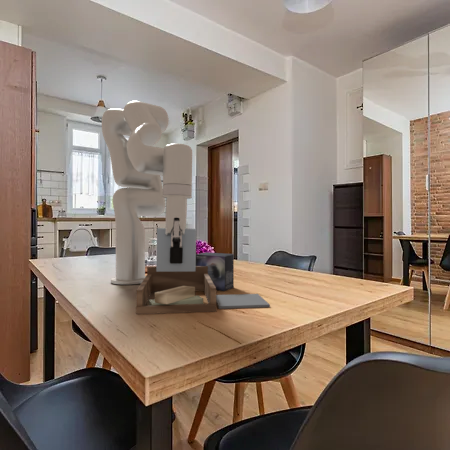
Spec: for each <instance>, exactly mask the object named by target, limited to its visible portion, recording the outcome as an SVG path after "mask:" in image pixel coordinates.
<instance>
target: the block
mask: <svg viewBox="0 0 450 450" xmlns="http://www.w3.org/2000/svg"><path fill="white" fill-rule="evenodd" d="M165 231H166V227H165V228H163V227H158V228H156V265H155V267H156V272H177V271H195V269H196V254H197V228H185V234H184V235H183V236H182V248H183V260H182V263H181V264H171V263H170V248H171V232H170V233H168V236H167V235H166V234H165ZM173 235H174V233H173ZM179 235H181V227H180V233H179Z"/></svg>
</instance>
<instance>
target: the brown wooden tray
mask: <svg viewBox="0 0 450 450" xmlns="http://www.w3.org/2000/svg"><path fill="white" fill-rule="evenodd" d="M146 270H147V271H146V272H147V274H146V275H145V276H146V277H145V279H144V280H143V281H142V283H140V285H139V286H138V288H137V289H136V293H135V294H136V295H135V296H136V303H135V304H136V307H135V314H136V315H148V314H150V315H151V314H155V315H156V314H176V313H177V314H179V313H180V314H181V313H182V314H183V313H205V312H206V313H207V312H209V313H210V312H217V303H216V295H217V290H216V287H215V285H214V284H213V282H212V280H211V278H210V276H209V275H208V266H196V269H195V271H177V272H156V266H147V267H146ZM180 286H191V287H195V292H196V291H197V292H198V291H203V293H204V296H205V297H206V302H207V303H203V304H179V305H149V304H148V305H147V303H148V302H149V300H150V299H149V298H150V296H151V294H152V293H156V292H160V291H164V290H168V289H172V288H176V287H180Z"/></svg>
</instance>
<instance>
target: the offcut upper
mask: <svg viewBox="0 0 450 450" xmlns="http://www.w3.org/2000/svg"><path fill="white" fill-rule="evenodd" d="M193 296H196V291H195V287H191V286H180V287H176V288H172V289H168V290H164V291H160V292H154V299H155V303H161V304H170V303H173V302H177V301H180V300H183V299H187V298H190V297H193Z"/></svg>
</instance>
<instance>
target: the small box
mask: <svg viewBox="0 0 450 450" xmlns="http://www.w3.org/2000/svg"><path fill="white" fill-rule="evenodd" d="M234 256H235V254H234V253H222V252H201V253H196V266H208V275H209V276H210V278H211V280H212V282H213V284H214V285H215V287H216V291H221V292H222V291H223V292H226V291H229V290H232V289H234V288H235V287H234V286H235V285H234V282H235V281H234V275H235V274H234V271H235V270H234V267H235V266H234V263H235V261H234Z"/></svg>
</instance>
